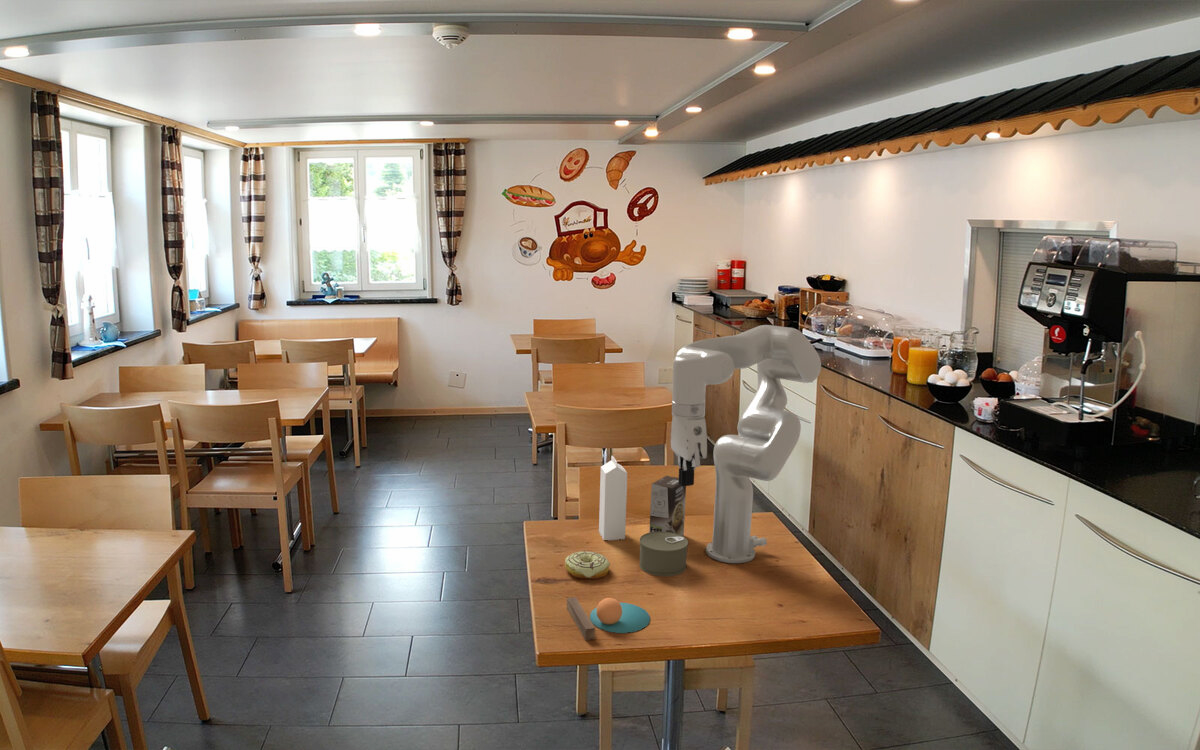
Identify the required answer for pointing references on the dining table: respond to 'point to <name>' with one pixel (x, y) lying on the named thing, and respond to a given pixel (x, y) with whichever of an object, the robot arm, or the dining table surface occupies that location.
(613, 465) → the milk
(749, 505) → the robot arm
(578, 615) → the rail
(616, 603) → the ball
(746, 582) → the dining table surface
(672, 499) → the coffee box
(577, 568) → the decorated donut
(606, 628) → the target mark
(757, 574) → the dining table surface
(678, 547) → the can
